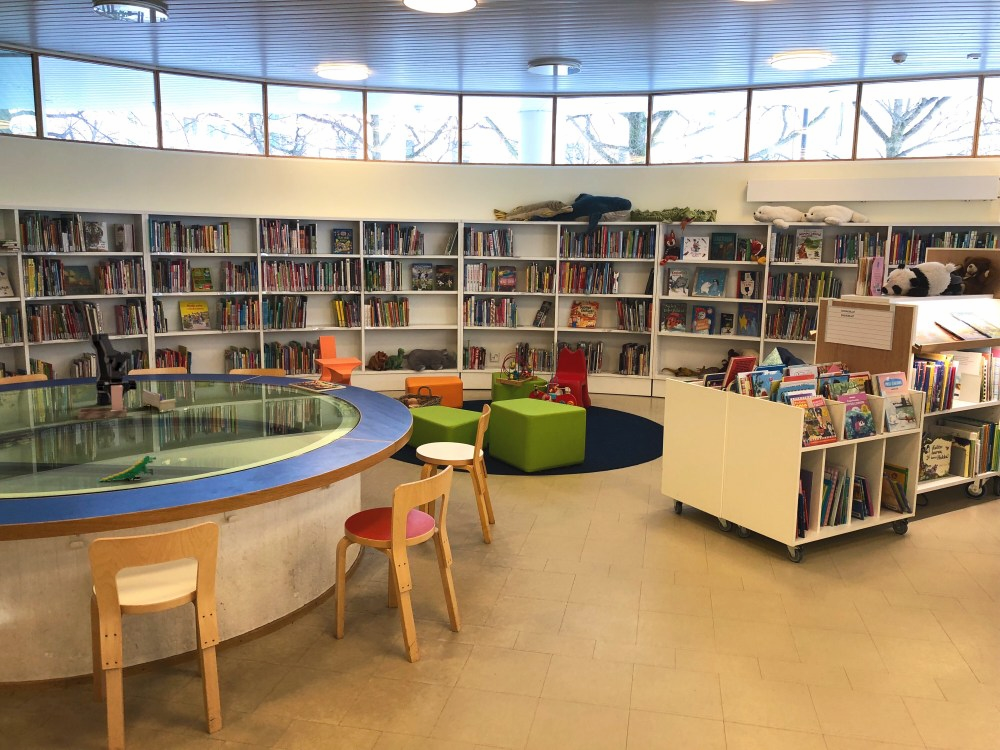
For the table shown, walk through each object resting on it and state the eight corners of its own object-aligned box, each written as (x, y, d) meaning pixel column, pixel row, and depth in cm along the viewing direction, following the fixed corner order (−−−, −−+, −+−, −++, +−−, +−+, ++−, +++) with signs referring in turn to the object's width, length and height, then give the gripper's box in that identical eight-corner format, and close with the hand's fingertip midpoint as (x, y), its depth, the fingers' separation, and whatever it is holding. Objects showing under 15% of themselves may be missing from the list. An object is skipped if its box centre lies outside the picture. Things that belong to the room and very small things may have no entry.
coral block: (111, 410, 406) (111, 387, 404) (112, 408, 411) (111, 385, 409) (122, 409, 408) (121, 386, 407) (122, 407, 413) (122, 385, 411)
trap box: (78, 419, 398) (77, 412, 398) (79, 415, 407) (79, 408, 407) (126, 417, 407) (126, 410, 407) (126, 413, 416) (126, 406, 416)
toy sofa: (176, 411, 426) (175, 392, 425) (160, 413, 420) (160, 394, 418) (157, 405, 440) (156, 387, 438) (141, 407, 433) (141, 388, 432)
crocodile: (98, 483, 298) (97, 461, 297) (99, 479, 303) (98, 457, 302) (156, 479, 306) (156, 457, 305) (156, 475, 311) (155, 453, 310)
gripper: (95, 365, 406) (95, 390, 398) (135, 364, 414) (136, 388, 405) (96, 377, 414) (96, 402, 406) (136, 376, 422) (137, 401, 414)
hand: (116, 398), depth 408 cm, fingers closed on coral block, 5 cm apart
